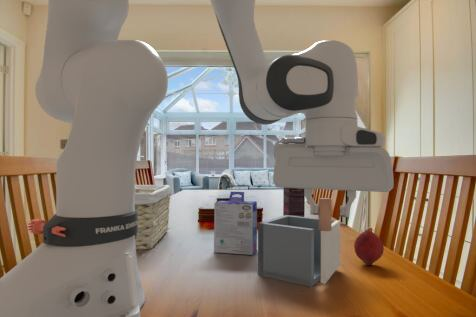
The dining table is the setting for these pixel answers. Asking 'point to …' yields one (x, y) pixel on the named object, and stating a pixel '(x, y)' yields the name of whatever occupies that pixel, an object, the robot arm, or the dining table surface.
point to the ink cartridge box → (235, 225)
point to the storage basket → (151, 214)
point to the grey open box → (290, 249)
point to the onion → (368, 246)
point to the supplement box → (293, 202)
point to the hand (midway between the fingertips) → (329, 215)
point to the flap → (328, 240)
